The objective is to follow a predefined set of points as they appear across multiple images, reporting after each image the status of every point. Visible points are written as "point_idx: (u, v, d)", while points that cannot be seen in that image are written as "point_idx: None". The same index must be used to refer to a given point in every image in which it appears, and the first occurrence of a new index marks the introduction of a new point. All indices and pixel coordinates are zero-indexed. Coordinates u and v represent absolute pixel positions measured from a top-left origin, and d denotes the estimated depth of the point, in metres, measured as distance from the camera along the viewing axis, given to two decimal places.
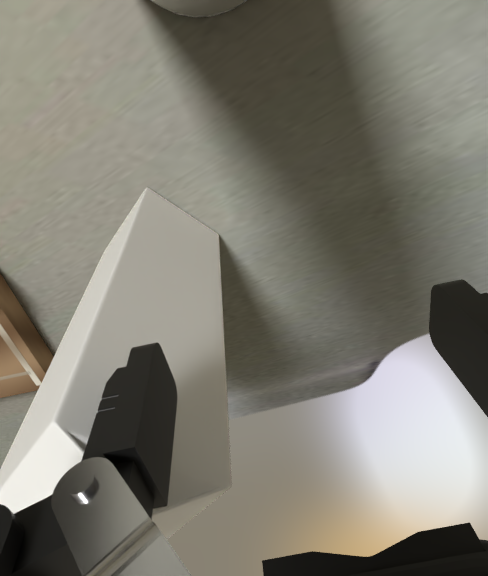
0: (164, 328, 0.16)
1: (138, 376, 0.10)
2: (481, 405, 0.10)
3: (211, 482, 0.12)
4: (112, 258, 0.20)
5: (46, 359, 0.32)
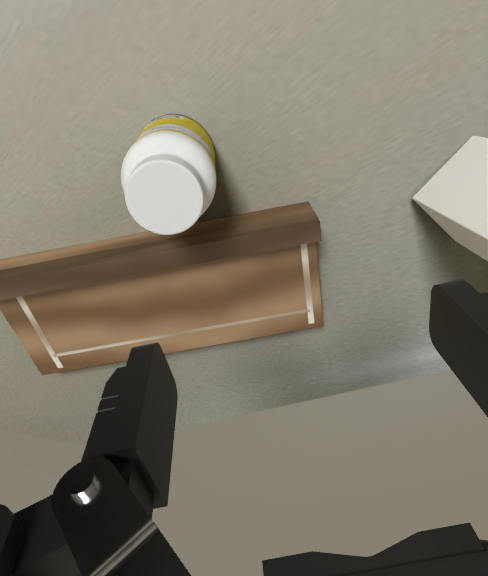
0: None
1: (138, 376, 0.10)
2: (481, 405, 0.10)
3: None
4: None
5: None
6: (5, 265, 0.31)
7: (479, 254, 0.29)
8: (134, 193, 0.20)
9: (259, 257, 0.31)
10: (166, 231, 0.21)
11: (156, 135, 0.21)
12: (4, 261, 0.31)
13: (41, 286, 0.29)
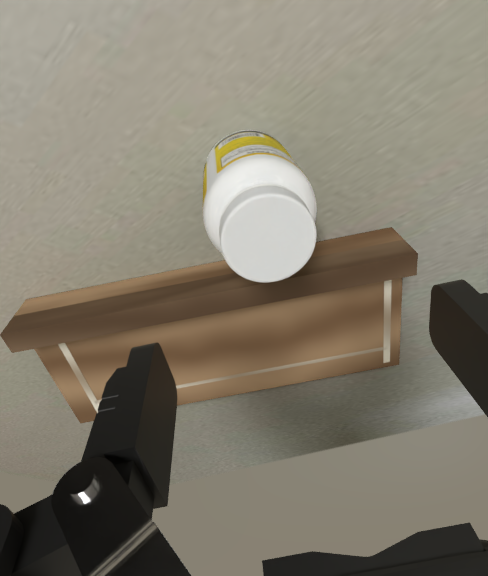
0: None
1: (138, 376, 0.10)
2: (481, 405, 0.10)
3: None
4: None
5: None
6: (44, 304, 0.27)
7: None
8: (233, 234, 0.16)
9: (335, 292, 0.27)
10: (266, 278, 0.17)
11: (252, 161, 0.17)
12: (43, 300, 0.27)
13: (89, 331, 0.25)
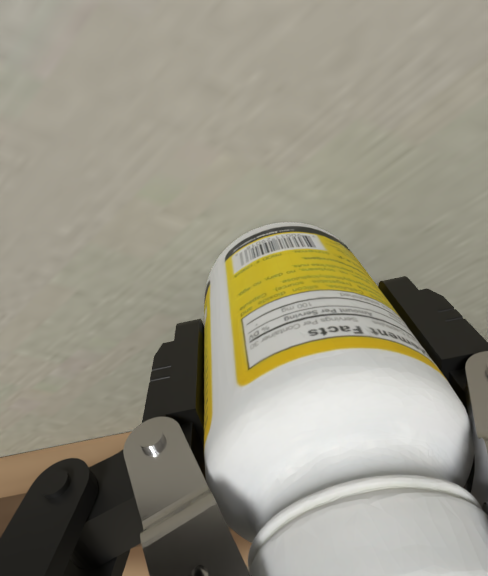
0: None
1: (188, 348, 0.10)
2: None
3: None
4: None
5: None
6: None
7: None
8: None
9: None
10: None
11: (334, 382, 0.06)
12: None
13: None
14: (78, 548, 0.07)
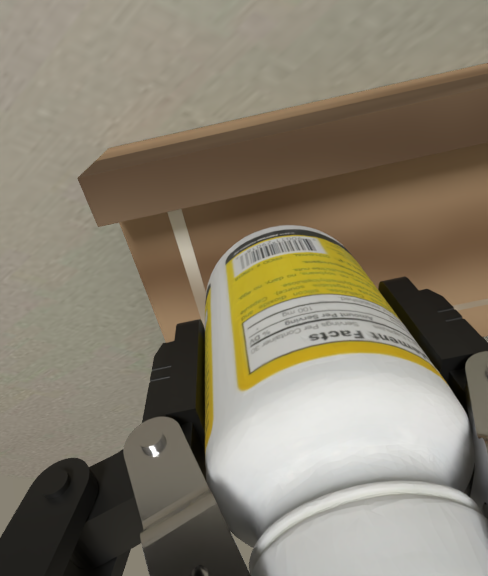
0: None
1: (188, 348, 0.10)
2: None
3: None
4: None
5: None
6: (153, 144, 0.13)
7: None
8: None
9: None
10: None
11: (335, 387, 0.06)
12: (146, 142, 0.14)
13: (270, 172, 0.11)
14: (78, 548, 0.07)
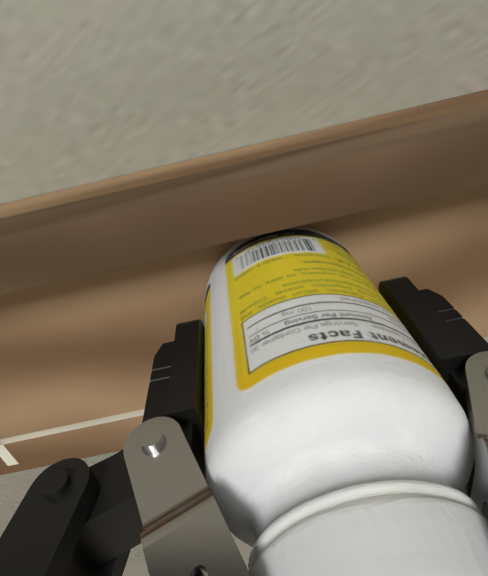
0: None
1: (188, 348, 0.10)
2: None
3: None
4: None
5: None
6: None
7: None
8: None
9: (465, 207, 0.13)
10: None
11: (334, 387, 0.06)
12: None
13: None
14: (78, 548, 0.07)
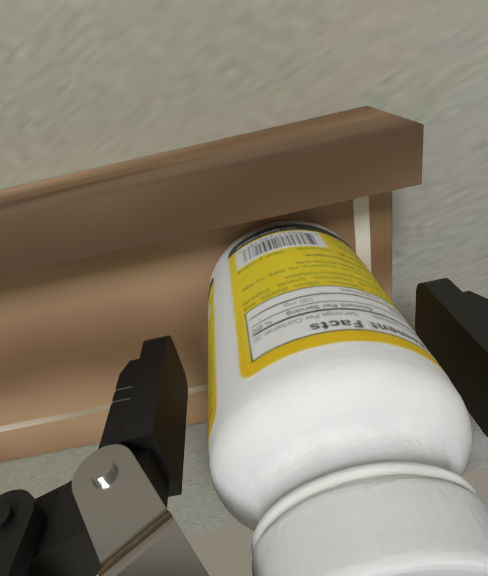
0: None
1: (152, 367, 0.10)
2: None
3: None
4: None
5: None
6: None
7: None
8: None
9: None
10: None
11: (335, 374, 0.07)
12: None
13: None
14: None
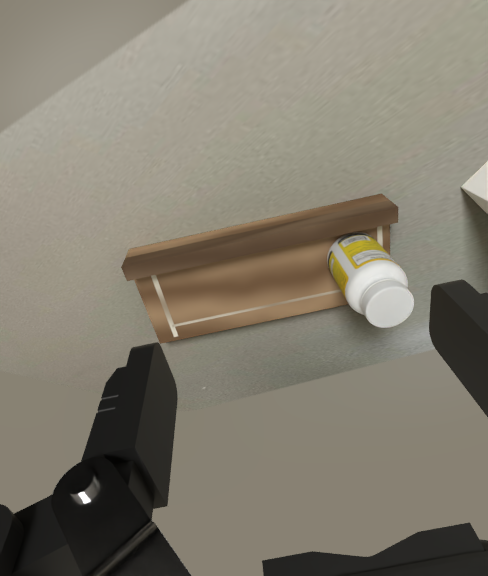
0: None
1: (138, 376, 0.10)
2: (481, 405, 0.10)
3: None
4: None
5: None
6: (144, 250, 0.39)
7: None
8: (373, 305, 0.31)
9: None
10: (386, 325, 0.32)
11: (377, 265, 0.32)
12: (142, 248, 0.39)
13: (180, 264, 0.37)
14: None
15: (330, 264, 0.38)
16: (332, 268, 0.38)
